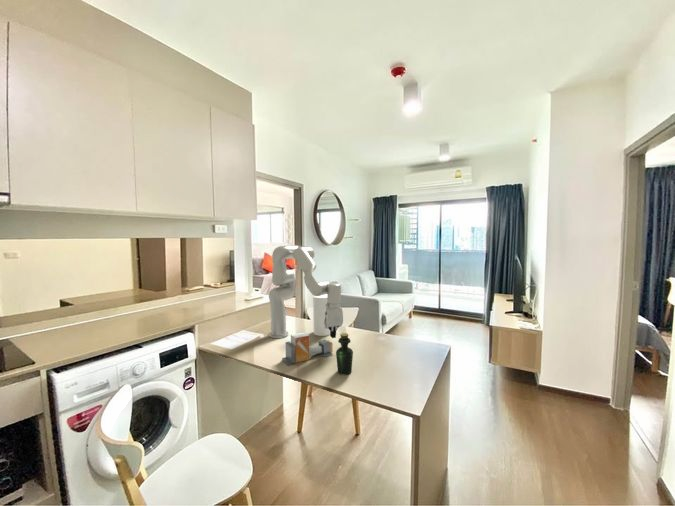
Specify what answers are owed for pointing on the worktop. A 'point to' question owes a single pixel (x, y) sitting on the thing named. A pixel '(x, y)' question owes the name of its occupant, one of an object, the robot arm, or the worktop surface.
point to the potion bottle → (344, 355)
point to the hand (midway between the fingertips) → (333, 337)
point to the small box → (300, 346)
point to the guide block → (325, 348)
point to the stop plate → (289, 354)
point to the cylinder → (320, 315)
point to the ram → (318, 349)
